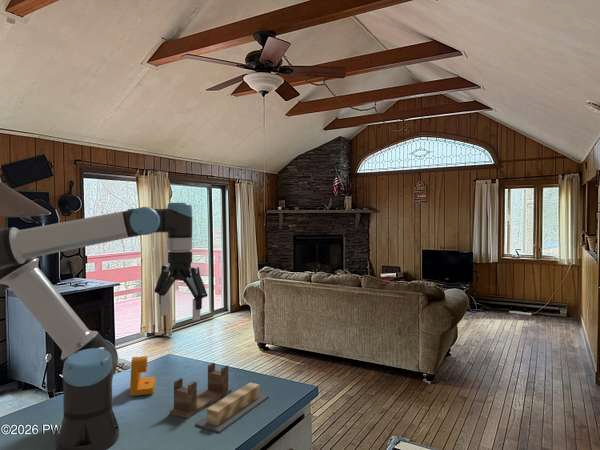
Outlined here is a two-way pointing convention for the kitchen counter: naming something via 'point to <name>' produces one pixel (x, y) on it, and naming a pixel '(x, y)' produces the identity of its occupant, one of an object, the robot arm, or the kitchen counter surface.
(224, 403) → the rail
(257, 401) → the mat
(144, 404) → the kitchen counter surface
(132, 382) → the orange hinge mount
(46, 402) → the kitchen counter surface
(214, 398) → the bracket
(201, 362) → the kitchen counter surface
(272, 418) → the kitchen counter surface
